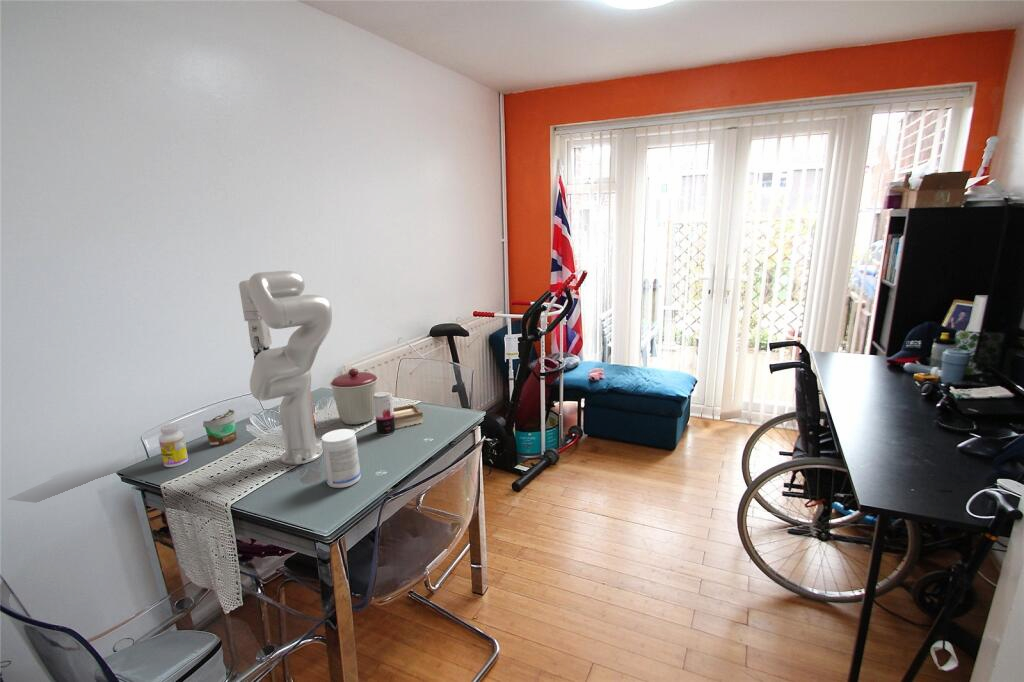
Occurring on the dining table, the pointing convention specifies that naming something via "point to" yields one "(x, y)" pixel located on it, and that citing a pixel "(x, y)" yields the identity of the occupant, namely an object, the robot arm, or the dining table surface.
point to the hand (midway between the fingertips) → (263, 363)
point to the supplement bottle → (173, 446)
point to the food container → (221, 429)
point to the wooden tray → (407, 416)
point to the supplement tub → (341, 458)
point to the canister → (355, 396)
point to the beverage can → (384, 412)
